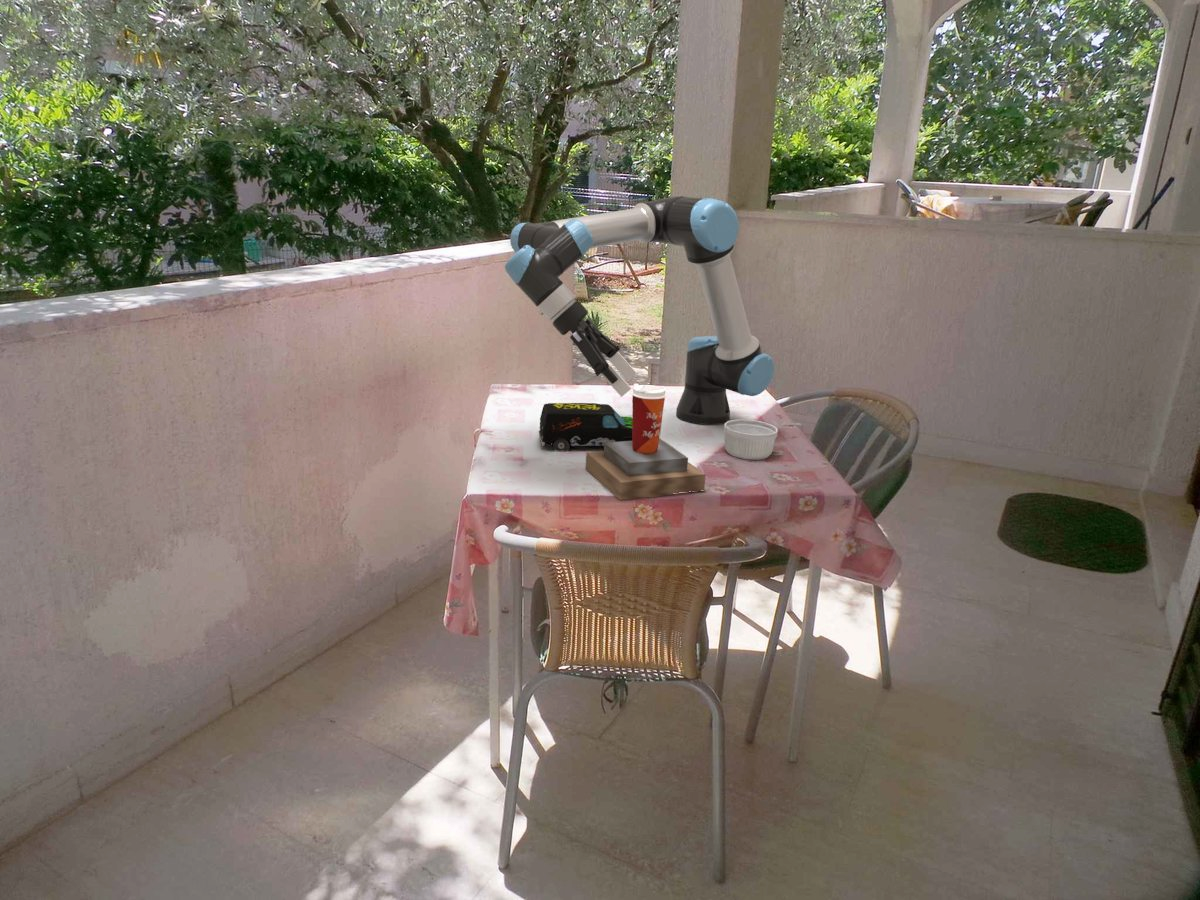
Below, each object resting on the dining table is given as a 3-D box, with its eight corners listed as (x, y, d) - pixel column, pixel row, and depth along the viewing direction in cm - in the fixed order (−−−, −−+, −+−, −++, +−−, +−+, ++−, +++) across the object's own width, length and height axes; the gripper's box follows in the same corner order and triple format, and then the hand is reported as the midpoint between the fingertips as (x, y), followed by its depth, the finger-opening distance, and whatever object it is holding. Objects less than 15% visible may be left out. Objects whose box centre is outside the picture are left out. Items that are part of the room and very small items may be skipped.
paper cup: (651, 457, 184) (656, 395, 179) (621, 450, 187) (625, 388, 183) (668, 449, 190) (673, 388, 186) (638, 442, 194) (642, 382, 189)
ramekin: (782, 452, 215) (786, 426, 213) (762, 465, 204) (765, 438, 202) (734, 441, 222) (737, 416, 219) (712, 453, 211) (715, 427, 209)
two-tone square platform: (663, 461, 203) (665, 433, 201) (704, 491, 186) (706, 461, 183) (585, 468, 196) (587, 439, 193) (620, 500, 178) (621, 468, 176)
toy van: (641, 452, 210) (644, 413, 206) (540, 452, 206) (542, 412, 203) (633, 438, 220) (636, 401, 216) (537, 438, 216) (538, 400, 213)
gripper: (561, 312, 194) (623, 382, 197) (539, 332, 170) (609, 410, 173) (585, 291, 192) (647, 361, 195) (566, 308, 168) (637, 387, 171)
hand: (629, 384), depth 184 cm, fingers open, 13 cm apart
